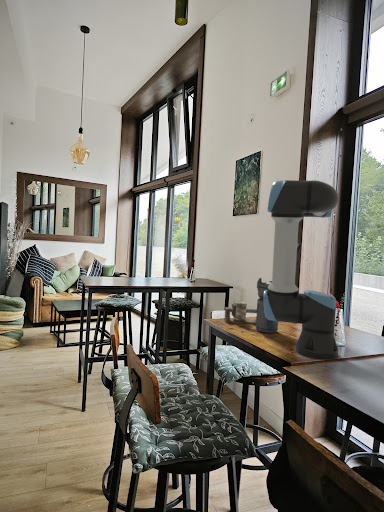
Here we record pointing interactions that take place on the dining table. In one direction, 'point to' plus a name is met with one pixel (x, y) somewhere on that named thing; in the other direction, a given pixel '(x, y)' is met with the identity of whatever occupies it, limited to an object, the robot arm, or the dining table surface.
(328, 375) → the dining table surface
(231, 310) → the pipe stand
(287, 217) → the robot arm
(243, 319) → the sleeve
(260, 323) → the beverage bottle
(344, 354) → the dining table surface
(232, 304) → the dark grey flat block
